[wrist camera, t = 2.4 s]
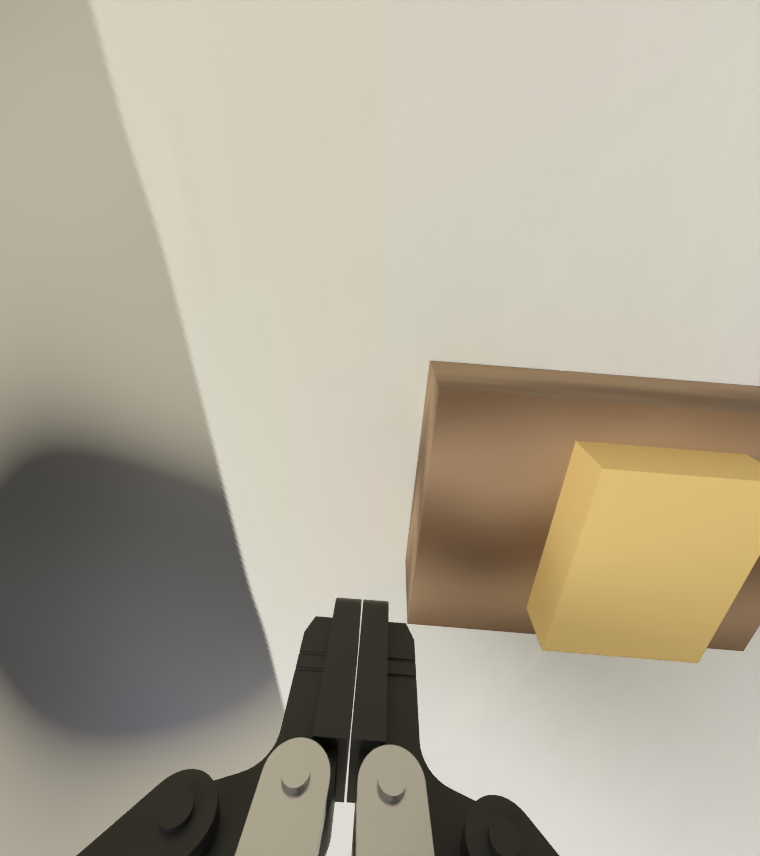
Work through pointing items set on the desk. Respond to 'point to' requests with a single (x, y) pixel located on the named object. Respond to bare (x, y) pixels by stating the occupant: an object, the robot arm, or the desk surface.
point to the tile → (646, 551)
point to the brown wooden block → (542, 478)
